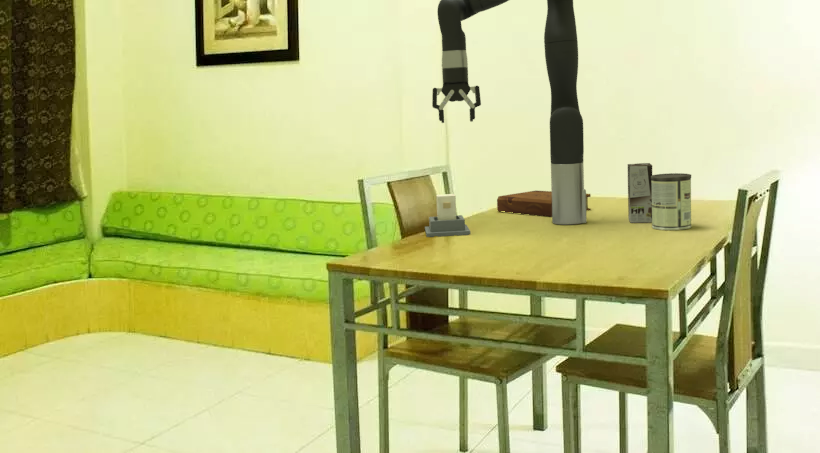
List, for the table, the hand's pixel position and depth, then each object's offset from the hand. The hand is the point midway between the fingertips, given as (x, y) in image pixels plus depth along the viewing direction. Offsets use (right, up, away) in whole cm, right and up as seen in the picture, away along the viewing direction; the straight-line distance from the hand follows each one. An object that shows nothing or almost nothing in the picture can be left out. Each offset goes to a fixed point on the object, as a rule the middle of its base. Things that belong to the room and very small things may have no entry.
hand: (457, 122), depth 254 cm
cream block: (-4, -32, -14) cm, 35 cm away
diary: (+29, -27, +20) cm, 44 cm away
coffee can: (+56, -31, -24) cm, 69 cm away
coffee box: (+52, -30, -10) cm, 60 cm away
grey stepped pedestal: (-4, -33, -13) cm, 36 cm away
